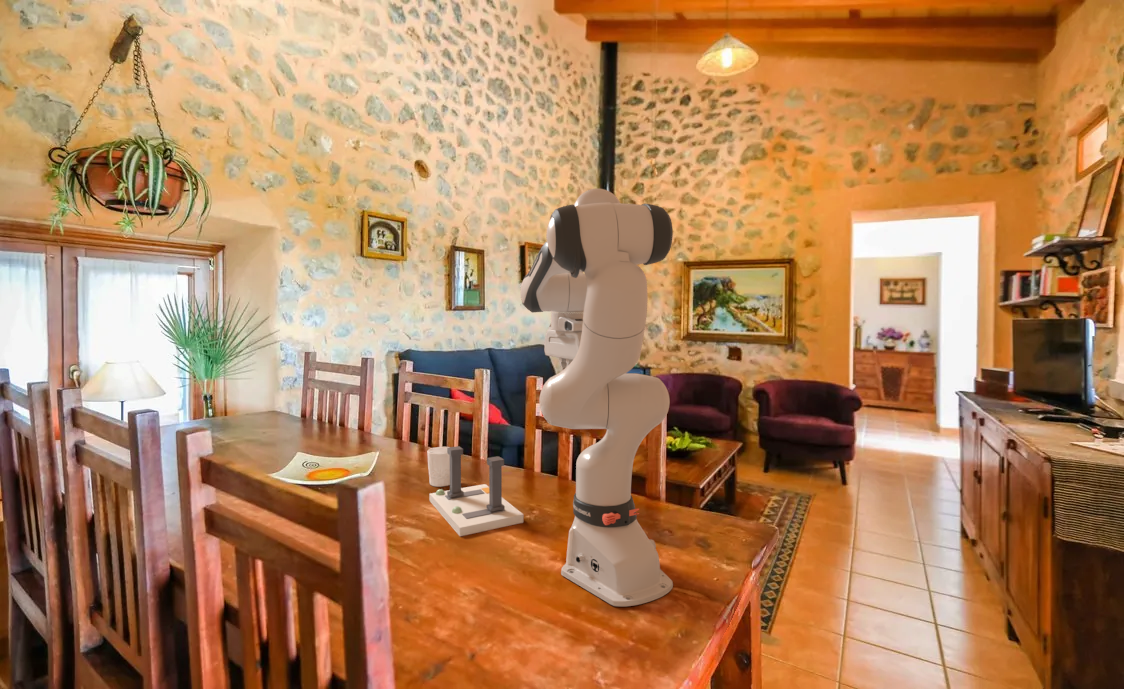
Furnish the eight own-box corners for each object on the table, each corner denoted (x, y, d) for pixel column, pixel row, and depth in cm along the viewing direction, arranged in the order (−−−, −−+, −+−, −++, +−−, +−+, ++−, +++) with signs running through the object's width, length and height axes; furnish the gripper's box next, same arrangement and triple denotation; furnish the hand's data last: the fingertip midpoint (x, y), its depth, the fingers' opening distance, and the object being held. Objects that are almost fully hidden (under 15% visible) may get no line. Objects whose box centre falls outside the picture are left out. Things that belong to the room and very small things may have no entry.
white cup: (451, 487, 149) (451, 453, 148) (424, 487, 149) (423, 453, 148) (457, 479, 156) (457, 446, 156) (431, 478, 157) (431, 446, 156)
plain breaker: (504, 509, 126) (504, 459, 125) (491, 512, 125) (491, 461, 124) (499, 505, 129) (499, 456, 128) (486, 507, 127) (486, 458, 126)
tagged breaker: (464, 495, 136) (463, 448, 135) (450, 497, 134) (450, 450, 133) (460, 491, 138) (459, 446, 138) (446, 494, 137) (446, 447, 136)
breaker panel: (523, 522, 125) (523, 509, 124) (459, 536, 117) (459, 522, 116) (485, 490, 146) (485, 479, 146) (429, 500, 138) (429, 489, 138)
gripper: (539, 322, 145) (538, 371, 146) (577, 324, 127) (576, 380, 128) (558, 322, 148) (558, 370, 149) (598, 324, 130) (597, 378, 131)
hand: (567, 375), depth 138 cm, fingers closed
